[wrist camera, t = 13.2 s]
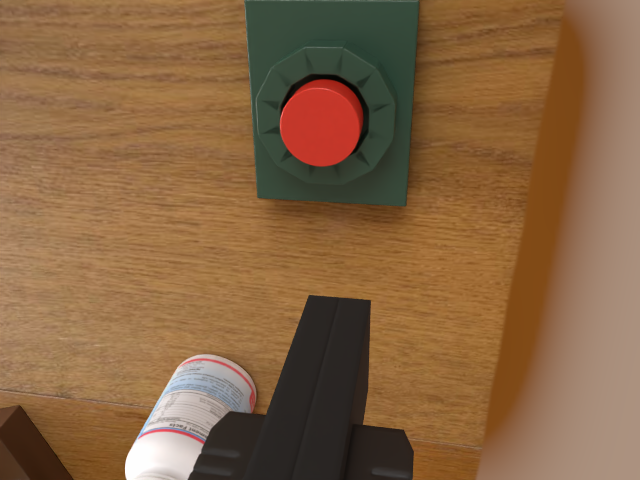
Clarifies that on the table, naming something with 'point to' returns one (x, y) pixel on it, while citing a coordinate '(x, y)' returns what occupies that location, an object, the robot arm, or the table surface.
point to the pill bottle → (188, 417)
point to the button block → (342, 66)
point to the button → (322, 122)
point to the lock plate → (25, 450)
